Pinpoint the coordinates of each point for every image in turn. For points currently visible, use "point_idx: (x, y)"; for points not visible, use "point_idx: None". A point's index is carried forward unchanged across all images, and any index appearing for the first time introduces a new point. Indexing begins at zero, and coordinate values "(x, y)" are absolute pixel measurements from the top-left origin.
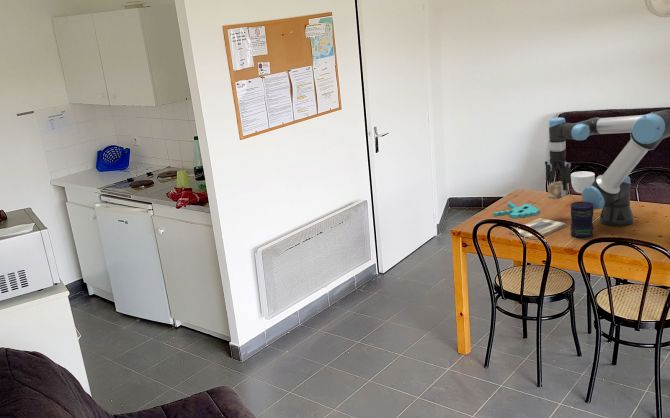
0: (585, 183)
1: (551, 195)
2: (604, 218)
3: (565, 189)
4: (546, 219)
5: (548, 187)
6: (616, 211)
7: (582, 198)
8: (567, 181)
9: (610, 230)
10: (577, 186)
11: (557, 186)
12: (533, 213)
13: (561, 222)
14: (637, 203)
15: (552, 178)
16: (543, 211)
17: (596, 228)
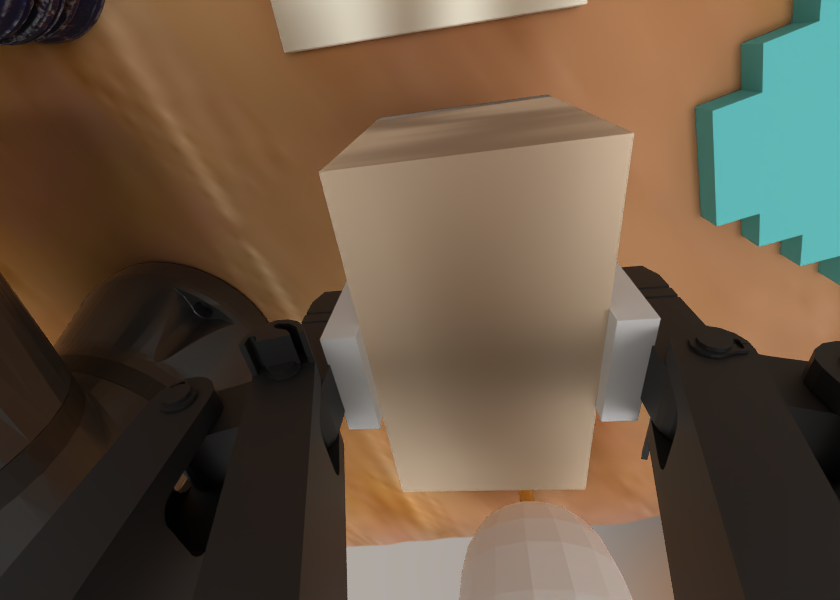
0: (479, 584)
1: (494, 108)
2: (153, 285)
3: (313, 307)
4: (498, 13)
5: (608, 123)
6: (55, 344)
7: None
8: (142, 421)
9: (51, 194)
10: (536, 542)
11: (324, 187)
12: (728, 101)
13: (328, 41)
14: (347, 536)
15: (683, 444)
16: (683, 245)
17: (128, 169)
